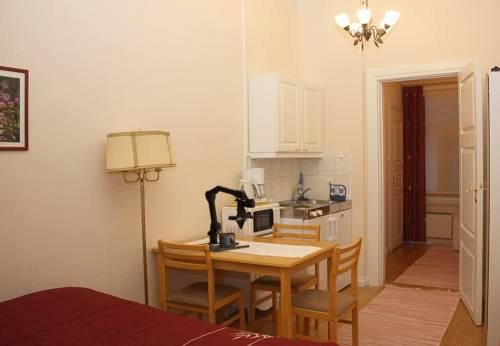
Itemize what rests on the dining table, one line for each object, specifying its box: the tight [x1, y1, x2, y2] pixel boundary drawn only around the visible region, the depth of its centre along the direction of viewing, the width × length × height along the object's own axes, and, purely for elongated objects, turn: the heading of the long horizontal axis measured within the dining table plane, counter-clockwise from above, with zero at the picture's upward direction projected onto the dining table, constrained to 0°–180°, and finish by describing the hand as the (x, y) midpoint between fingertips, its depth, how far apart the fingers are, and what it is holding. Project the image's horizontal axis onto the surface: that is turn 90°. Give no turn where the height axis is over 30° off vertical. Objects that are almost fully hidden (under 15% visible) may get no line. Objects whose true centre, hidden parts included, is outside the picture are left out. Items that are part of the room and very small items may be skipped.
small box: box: [218, 231, 236, 249], centre depth 329 cm, size 11×6×10 cm, turn 108°
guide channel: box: [207, 241, 250, 253], centre depth 330 cm, size 15×27×3 cm, turn 124°
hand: (240, 229), depth 340 cm, fingers closed
